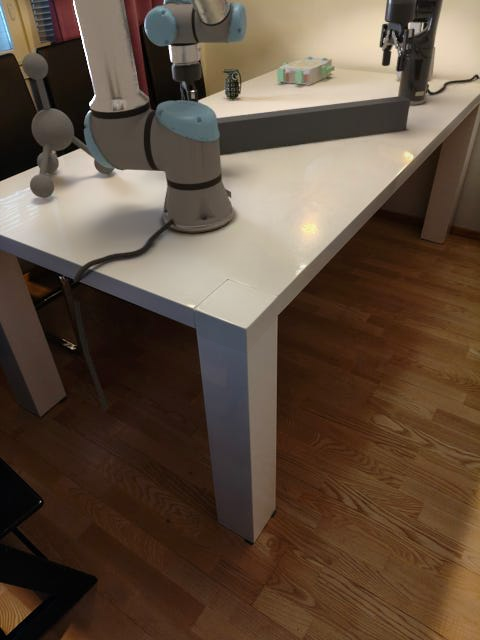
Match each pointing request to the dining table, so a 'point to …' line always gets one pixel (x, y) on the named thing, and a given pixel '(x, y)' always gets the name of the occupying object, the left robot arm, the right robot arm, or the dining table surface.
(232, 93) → the grenade
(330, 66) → the decorative block
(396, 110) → the bar
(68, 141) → the molecular model
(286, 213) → the dining table surface
